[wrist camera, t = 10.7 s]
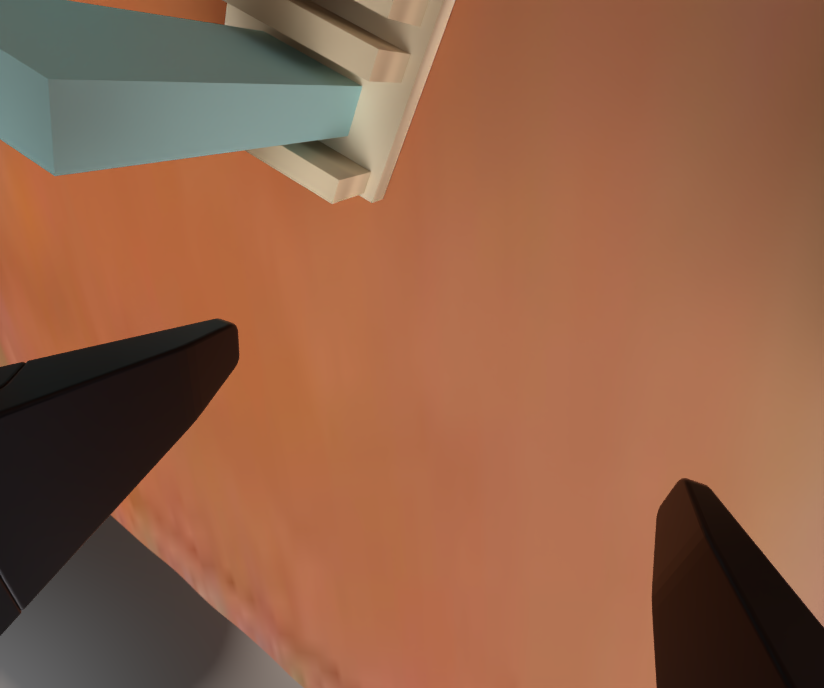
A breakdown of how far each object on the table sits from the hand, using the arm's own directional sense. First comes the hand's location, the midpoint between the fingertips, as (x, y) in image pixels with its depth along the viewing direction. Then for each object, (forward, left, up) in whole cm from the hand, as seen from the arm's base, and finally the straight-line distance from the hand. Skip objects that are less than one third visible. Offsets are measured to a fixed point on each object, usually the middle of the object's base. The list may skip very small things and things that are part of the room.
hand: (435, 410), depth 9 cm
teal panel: (+12, +1, -11) cm, 17 cm away
